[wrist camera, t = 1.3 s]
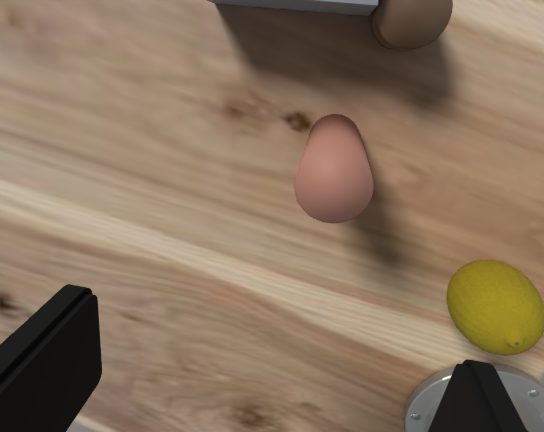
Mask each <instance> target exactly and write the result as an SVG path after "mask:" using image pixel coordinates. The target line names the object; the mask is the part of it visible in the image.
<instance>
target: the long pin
mask: <svg viewBox="0 0 544 432" xmlns="http://www.w3.org/2000/svg"><path fill="white" fill-rule="evenodd" d="M373 189H374V182H373V176H372V173H371V170H370V166H369V163H368V160H367V156H366V153H365V150H364V147H363V143H362V140H361V137H360V133H359V130H358V128H357V126H356V124H355V123H354V122H353V121H352V120H351V119H349V118H348V117H346V116H343V115H339V114H331V115H327V116H324V117H322V118H321V119H319V120H318V121H317V122H316V123H315V124H314V125H313V127H312V129H311V131H310V134H309V137H308V140H307V143H306V146H305V149H304V152H303V155H302V158H301V161H300V164H299V168H298V171H297V174H296V177H295V182H294V190H295V195H296V198H297V201H298V203H299V205H300V206H301V208H302V209H303V210H304V211H305V212H306V213H307V214H308V215H309V216H311V217H313V218H314V219H316V220H319V221H322V222H326V223H341V222H345V221H348V220H351V219H353V218H355V217H356V216H358V215H359V214H360V213H361V212H362V211H364V209H365V208H366V207H367V206H368V204H369V202H370V200H371V198H372V194H373Z"/></svg>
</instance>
